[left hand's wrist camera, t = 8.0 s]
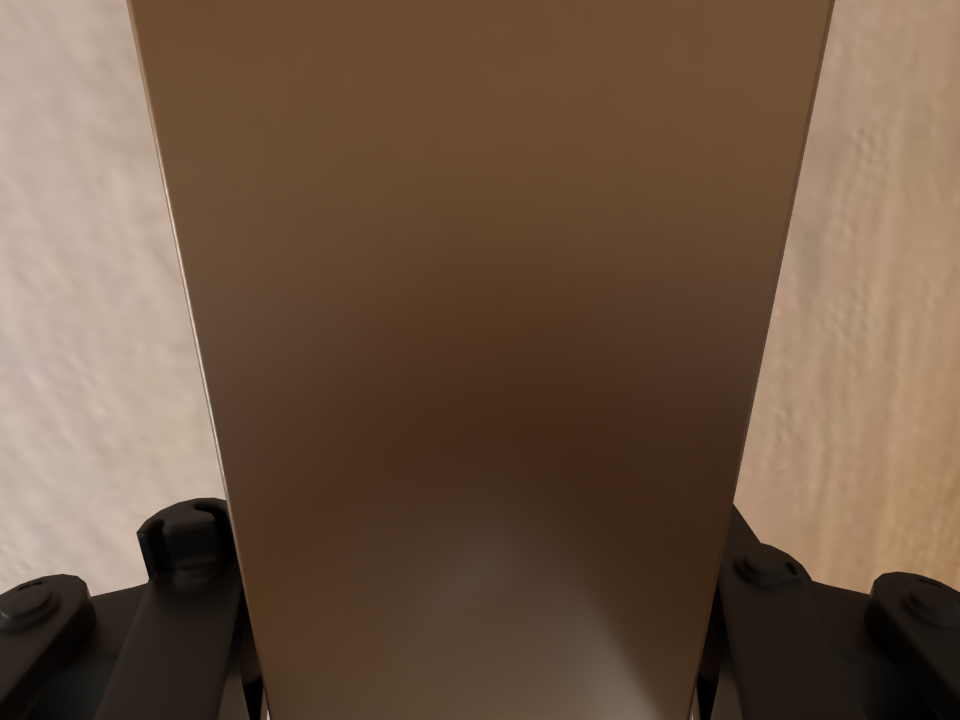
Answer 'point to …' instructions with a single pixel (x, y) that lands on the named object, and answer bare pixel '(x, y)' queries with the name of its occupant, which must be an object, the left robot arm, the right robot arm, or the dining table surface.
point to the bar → (480, 329)
